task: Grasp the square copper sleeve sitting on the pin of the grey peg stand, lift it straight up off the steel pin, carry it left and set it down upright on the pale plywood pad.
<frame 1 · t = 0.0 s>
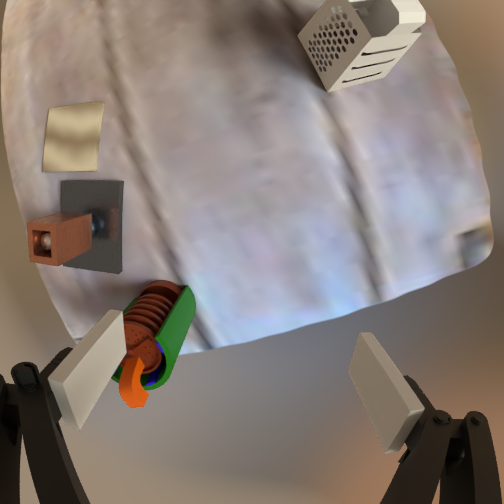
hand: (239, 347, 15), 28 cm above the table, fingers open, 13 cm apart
plywood pad: (72, 137, 38), on the table
grater: (341, 55, 35), on the table
grey peg stand: (92, 224, 41), on the table
motor: (167, 305, 45), on the table
square copper sleeve: (77, 229, 37), point 4 cm above the table, touching grey peg stand
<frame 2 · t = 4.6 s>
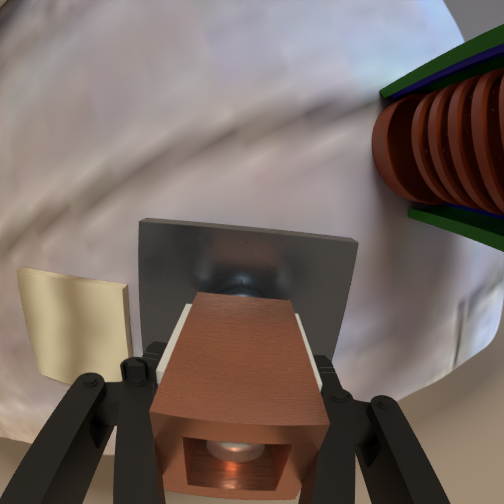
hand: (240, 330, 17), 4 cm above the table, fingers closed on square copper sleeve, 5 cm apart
plywood pad: (76, 334, 21), on the table
grey peg stand: (241, 304, 21), on the table
motor: (420, 147, 18), on the table
square copper sleeve: (240, 336, 16), point 4 cm above the table, touching gripper, grey peg stand
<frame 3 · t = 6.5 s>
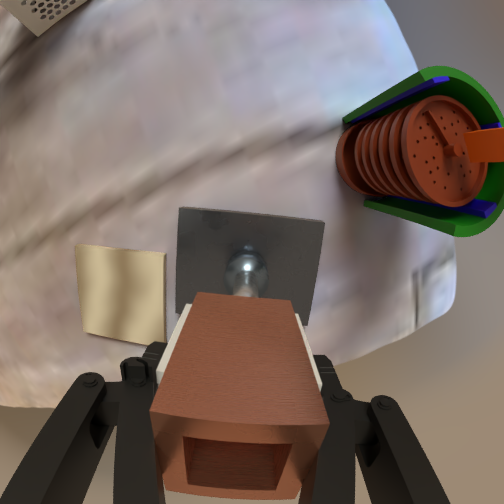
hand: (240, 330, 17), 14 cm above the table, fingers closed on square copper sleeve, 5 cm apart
plywood pad: (121, 294, 31), on the table
grey peg stand: (246, 266, 30), on the table
motor: (373, 156, 28), on the table
square copper sleeve: (240, 336, 16), point 14 cm above the table, touching gripper
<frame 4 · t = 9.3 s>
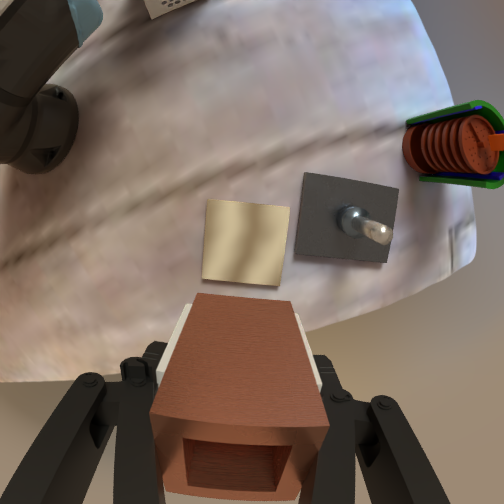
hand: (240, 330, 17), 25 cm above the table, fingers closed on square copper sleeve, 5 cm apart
plywood pad: (244, 242, 41), on the table
grey peg stand: (347, 218, 40), on the table
motor: (424, 147, 38), on the table
square copper sleeve: (239, 337, 16), point 25 cm above the table, touching gripper
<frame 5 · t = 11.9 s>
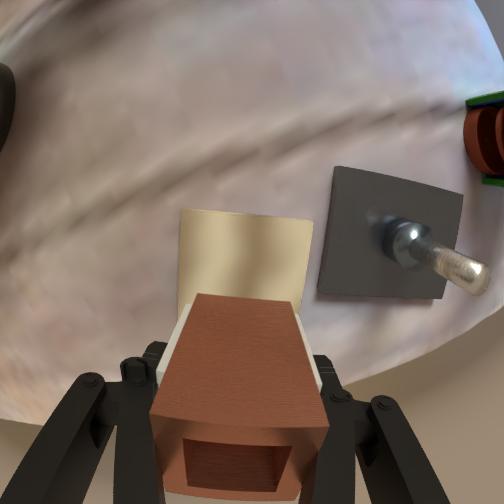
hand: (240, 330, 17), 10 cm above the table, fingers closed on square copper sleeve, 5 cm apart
plywood pad: (241, 275, 26), on the table
grey peg stand: (394, 237, 26), on the table
motor: (486, 139, 23), on the table
square copper sleeve: (239, 337, 16), point 10 cm above the table, touching gripper
when the fingers open (2 cm above the table, at t = 14.1 s): square copper sleeve drops 2 cm, resting on plywood pad.
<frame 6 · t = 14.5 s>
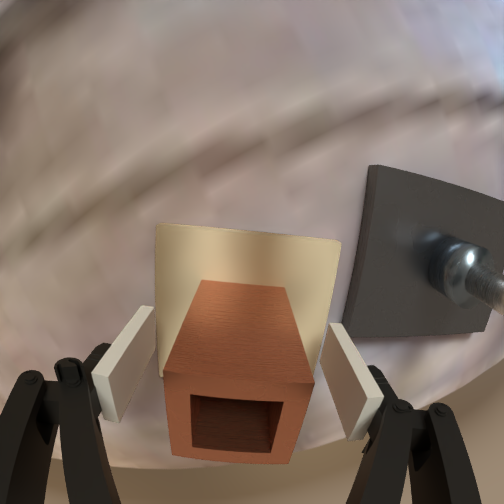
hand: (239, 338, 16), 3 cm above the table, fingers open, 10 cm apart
plywood pad: (241, 313, 19), on the table
grey peg stand: (438, 259, 18), on the table
square copper sleeve: (239, 320, 18), point 1 cm above the table, touching plywood pad
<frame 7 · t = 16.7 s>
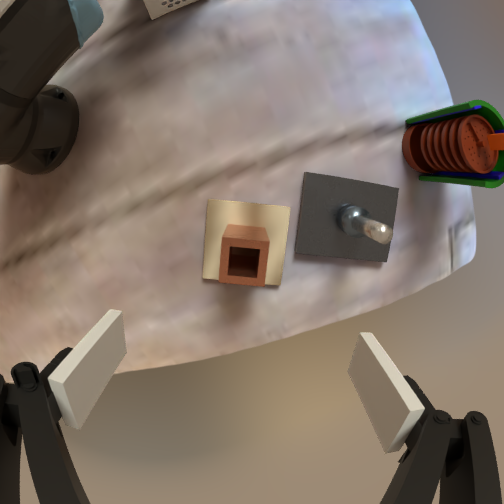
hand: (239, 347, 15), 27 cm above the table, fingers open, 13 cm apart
plywood pad: (245, 242, 41), on the table
grey peg stand: (347, 217, 40), on the table
motor: (423, 147, 38), on the table
square copper sleeve: (244, 243, 40), point 1 cm above the table, touching plywood pad
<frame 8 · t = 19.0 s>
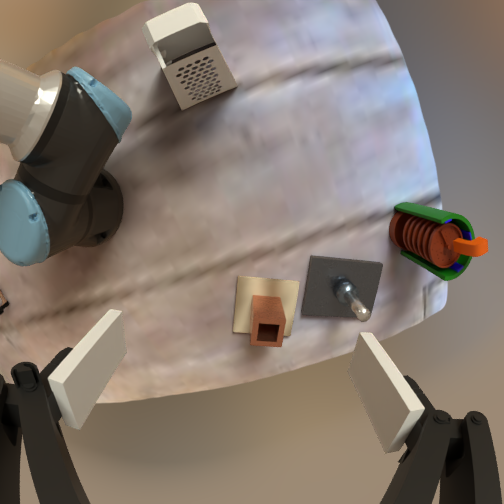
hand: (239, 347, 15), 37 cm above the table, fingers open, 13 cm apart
plywood pad: (265, 306, 54), on the table
grater: (198, 74, 44), on the table
grey peg stand: (341, 286, 53), on the table
motor: (407, 226, 51), on the table
square copper sleeve: (264, 308, 53), point 1 cm above the table, touching plywood pad
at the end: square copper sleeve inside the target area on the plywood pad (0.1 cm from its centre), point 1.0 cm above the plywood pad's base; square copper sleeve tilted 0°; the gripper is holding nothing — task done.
